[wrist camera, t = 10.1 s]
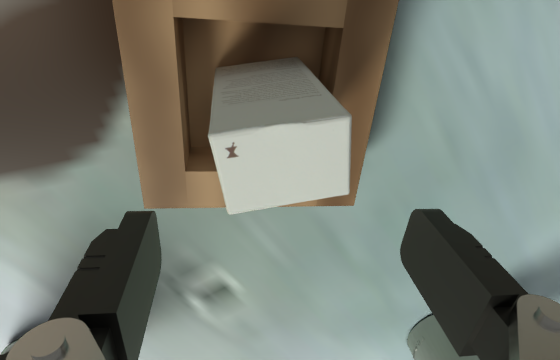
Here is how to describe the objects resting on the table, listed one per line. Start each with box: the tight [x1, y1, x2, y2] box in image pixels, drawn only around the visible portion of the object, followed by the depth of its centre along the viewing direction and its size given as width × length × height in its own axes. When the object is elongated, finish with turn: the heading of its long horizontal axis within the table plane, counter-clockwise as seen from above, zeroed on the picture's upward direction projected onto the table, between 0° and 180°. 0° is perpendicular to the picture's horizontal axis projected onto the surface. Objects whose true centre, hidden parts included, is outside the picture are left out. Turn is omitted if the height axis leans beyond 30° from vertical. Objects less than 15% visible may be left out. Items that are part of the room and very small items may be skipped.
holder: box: [112, 0, 399, 209], centre depth 23 cm, size 16×16×5 cm
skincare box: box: [208, 57, 352, 214], centre depth 20 cm, size 6×4×12 cm
